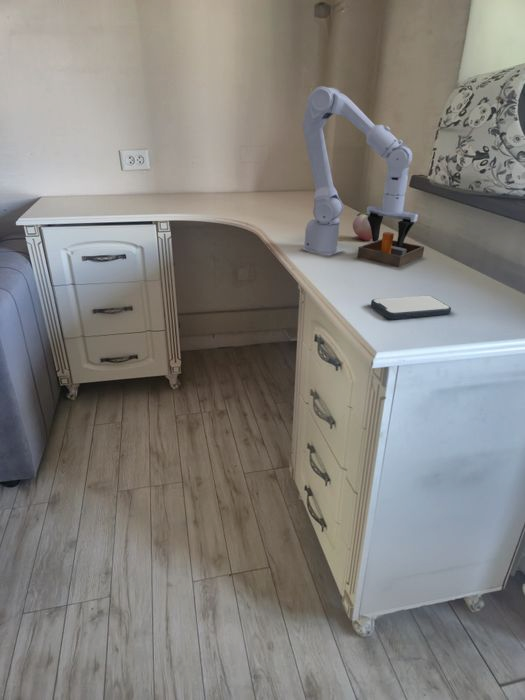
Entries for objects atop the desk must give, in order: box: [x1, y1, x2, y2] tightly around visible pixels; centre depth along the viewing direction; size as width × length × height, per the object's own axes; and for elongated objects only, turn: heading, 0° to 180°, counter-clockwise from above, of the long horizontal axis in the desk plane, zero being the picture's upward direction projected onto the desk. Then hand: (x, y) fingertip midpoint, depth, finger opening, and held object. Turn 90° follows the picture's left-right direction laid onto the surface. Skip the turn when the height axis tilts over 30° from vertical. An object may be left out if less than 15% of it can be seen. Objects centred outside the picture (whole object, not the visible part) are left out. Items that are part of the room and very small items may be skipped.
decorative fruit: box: [352, 211, 383, 242], centre depth 159 cm, size 9×8×10 cm
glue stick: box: [381, 231, 395, 254], centre depth 140 cm, size 3×3×8 cm
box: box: [357, 238, 425, 268], centre depth 143 cm, size 13×15×4 cm
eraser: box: [391, 246, 407, 256], centre depth 146 cm, size 5×3×2 cm, turn 49°
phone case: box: [370, 295, 452, 320], centre depth 108 cm, size 9×2×16 cm
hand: (387, 243), depth 139 cm, fingers open, 7 cm apart
